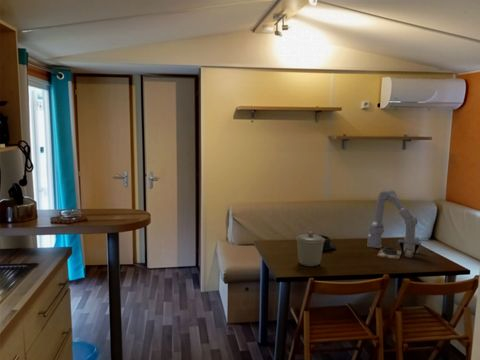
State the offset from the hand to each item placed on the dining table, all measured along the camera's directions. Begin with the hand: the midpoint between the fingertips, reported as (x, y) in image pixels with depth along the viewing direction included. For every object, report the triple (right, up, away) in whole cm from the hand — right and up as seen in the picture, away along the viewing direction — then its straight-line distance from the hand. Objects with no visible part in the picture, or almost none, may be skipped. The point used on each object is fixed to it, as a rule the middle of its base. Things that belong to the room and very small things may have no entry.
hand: (408, 254), depth 284 cm
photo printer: (+6, 0, +12) cm, 13 cm away
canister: (-72, -3, -21) cm, 75 cm away
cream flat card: (-12, -1, +4) cm, 12 cm away
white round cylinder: (0, -1, 0) cm, 2 cm away
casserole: (-59, +1, +14) cm, 61 cm away
